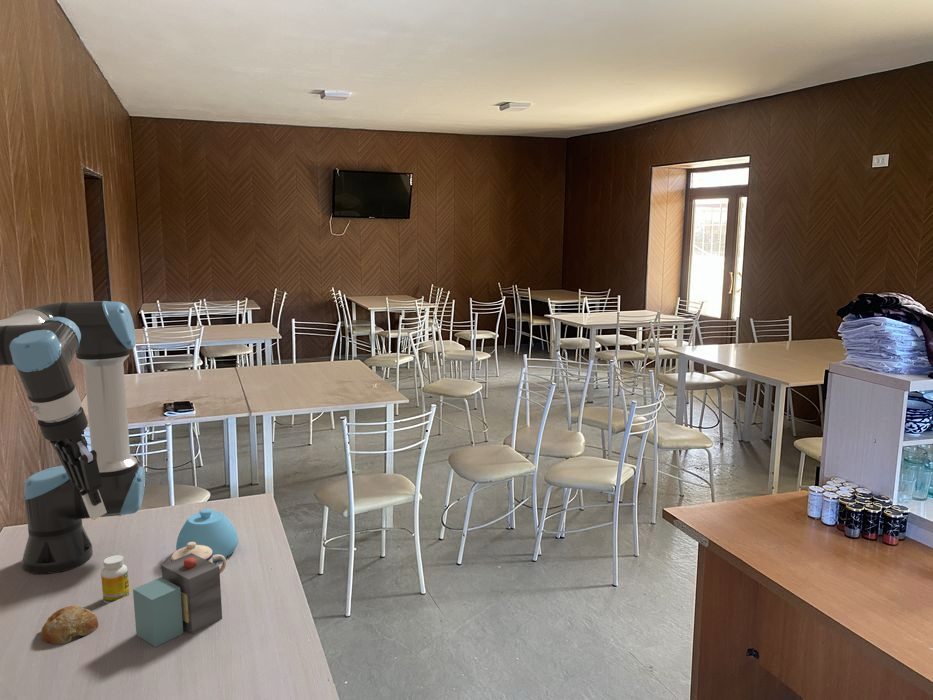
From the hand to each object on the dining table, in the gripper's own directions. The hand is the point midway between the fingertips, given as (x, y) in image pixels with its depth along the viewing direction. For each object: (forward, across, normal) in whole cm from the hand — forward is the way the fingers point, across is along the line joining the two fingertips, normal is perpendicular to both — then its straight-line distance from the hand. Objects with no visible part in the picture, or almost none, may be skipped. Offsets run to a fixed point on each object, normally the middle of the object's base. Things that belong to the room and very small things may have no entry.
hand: (98, 515), depth 139 cm
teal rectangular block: (+24, +12, -1) cm, 27 cm away
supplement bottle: (+29, -11, +1) cm, 31 cm away
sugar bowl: (+37, -14, +26) cm, 47 cm away
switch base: (+26, +12, -2) cm, 29 cm away
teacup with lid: (+32, +1, +15) cm, 35 cm away
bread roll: (+25, -4, -12) cm, 28 cm away
